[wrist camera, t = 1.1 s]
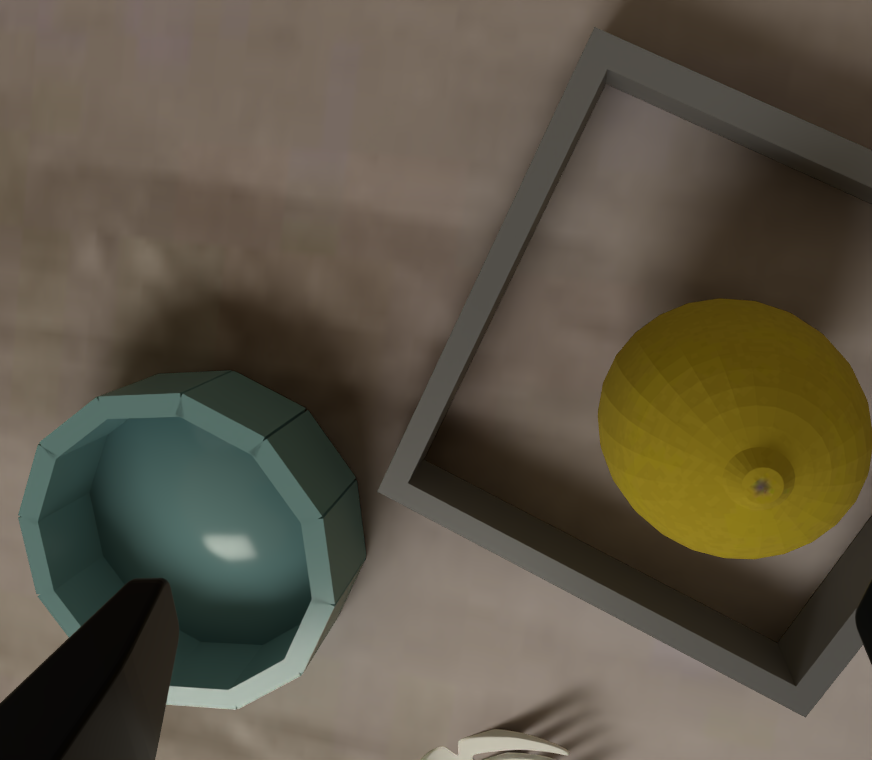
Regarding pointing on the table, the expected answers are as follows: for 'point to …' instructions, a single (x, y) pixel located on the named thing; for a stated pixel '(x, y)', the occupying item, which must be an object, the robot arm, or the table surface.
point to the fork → (498, 747)
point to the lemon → (735, 428)
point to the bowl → (200, 525)
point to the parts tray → (563, 554)
